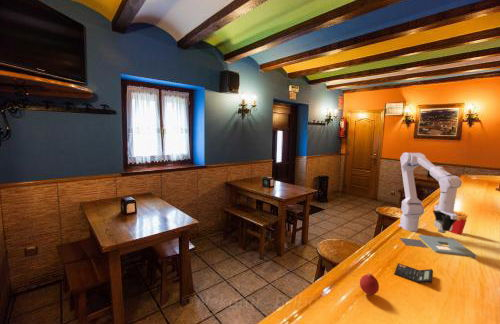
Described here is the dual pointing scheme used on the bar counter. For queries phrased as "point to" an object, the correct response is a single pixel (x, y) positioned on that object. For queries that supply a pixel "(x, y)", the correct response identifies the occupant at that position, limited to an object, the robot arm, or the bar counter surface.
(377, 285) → the onion
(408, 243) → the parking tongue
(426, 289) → the bar counter surface
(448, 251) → the hole plate
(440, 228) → the tan cubic block
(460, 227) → the french fries
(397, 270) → the calculator
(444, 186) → the robot arm
